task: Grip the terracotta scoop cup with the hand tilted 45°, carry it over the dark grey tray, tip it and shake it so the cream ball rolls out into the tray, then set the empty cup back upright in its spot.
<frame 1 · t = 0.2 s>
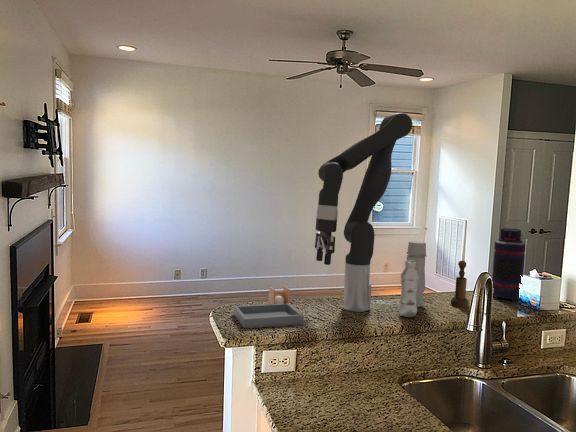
hand: (323, 262, 168), 18 cm above the table, tool pointing down, fingers open, 8 cm apart
ball: (278, 301, 171), point 2 cm above the table, touching scoop cup
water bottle: (414, 305, 182), on the table
striped lidded canister: (506, 298, 200), on the table
scoop cup: (278, 308, 171), on the table, touching ball
tray: (267, 319, 156), on the table
wooden pepper mill: (459, 306, 184), on the table
plastic bottle: (407, 317, 166), on the table
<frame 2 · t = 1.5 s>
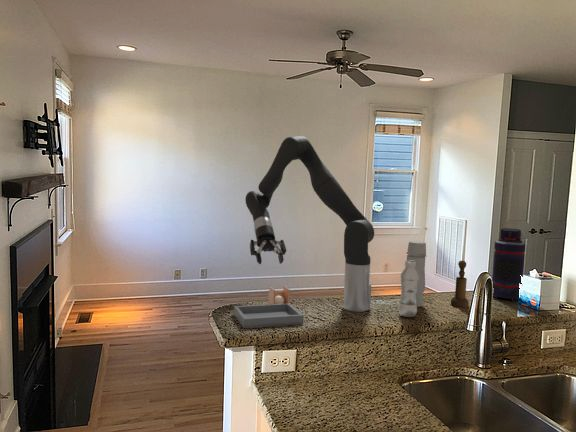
hand: (271, 262, 181), 15 cm above the table, tool tilted 45°, fingers open, 8 cm apart
nothing on the table moved.
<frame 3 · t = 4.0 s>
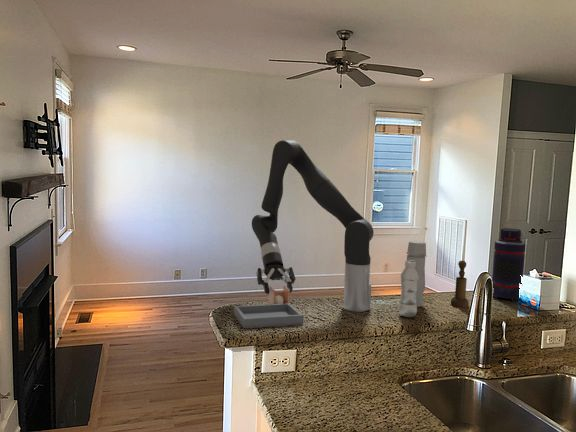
hand: (279, 292, 171), 6 cm above the table, tool tilted 45°, fingers open, 8 cm apart
ball: (278, 300, 171), point 2 cm above the table, tilted 13°, touching scoop cup
everything else where it was.
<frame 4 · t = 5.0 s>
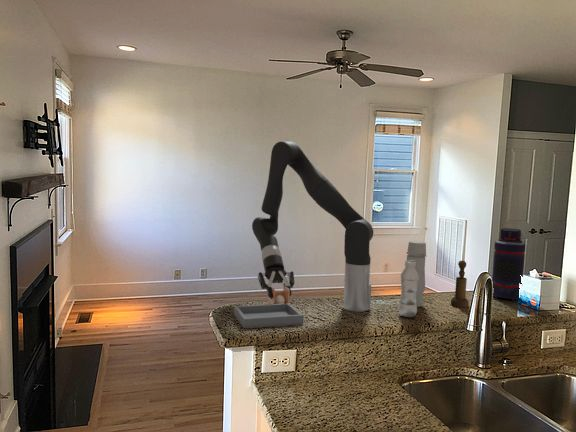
hand: (280, 297, 169), 4 cm above the table, tool tilted 45°, fingers closed on scoop cup, 6 cm apart
scoop cup: (278, 307, 171), on the table, touching ball, gripper
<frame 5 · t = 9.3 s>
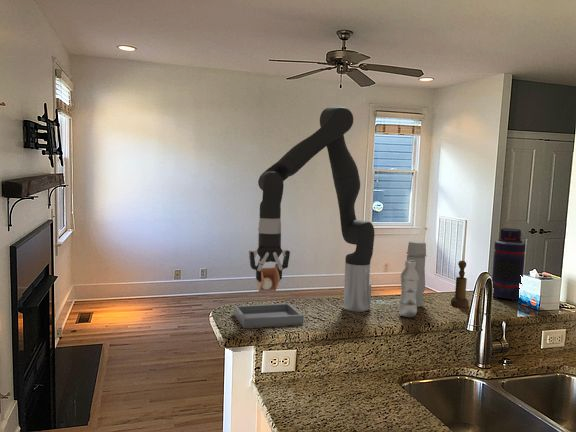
hand: (269, 281, 156), 13 cm above the table, tool pointing down, fingers closed on scoop cup, 6 cm apart
ball: (266, 283, 157), point 12 cm above the table, tilted 86°, touching scoop cup
scoop cup: (265, 284, 160), point 11 cm above the table, tilted 45°, touching ball, gripper
everything else where it was.
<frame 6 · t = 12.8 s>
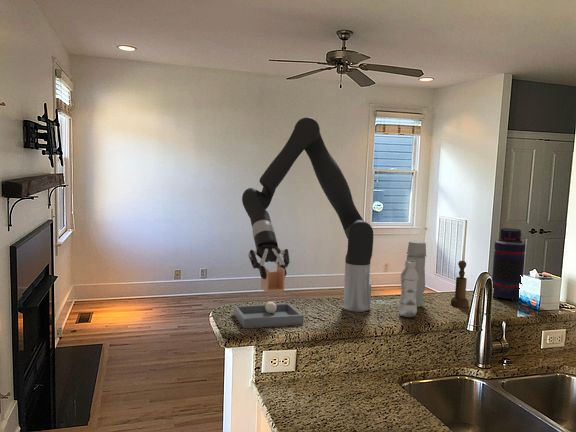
hand: (274, 277, 152), 15 cm above the table, tool tilted 45°, fingers closed on scoop cup, 6 cm apart
ball: (270, 307, 161), point 3 cm above the table, tilted 39°, touching tray
scoop cup: (272, 290, 154), point 11 cm above the table, touching gripper
everything else where it was.
when the fingers open (5 cm above the table, at t = 16.9 s): scoop cup stays where it is, on the table.
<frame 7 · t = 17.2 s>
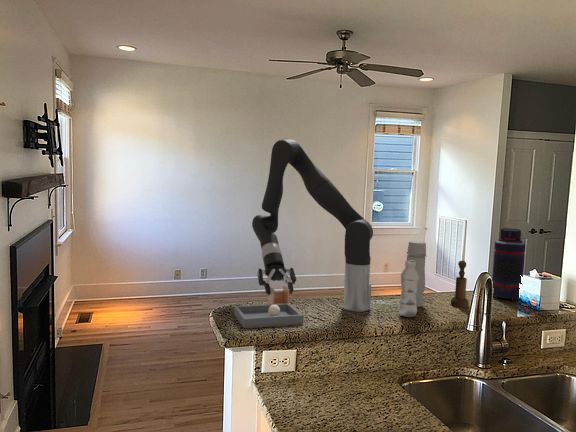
hand: (280, 293, 169), 6 cm above the table, tool tilted 45°, fingers open, 8 cm apart
ball: (274, 310, 157), point 3 cm above the table, tilted 128°, touching tray
scoop cup: (278, 307, 171), on the table
everything else where it was.
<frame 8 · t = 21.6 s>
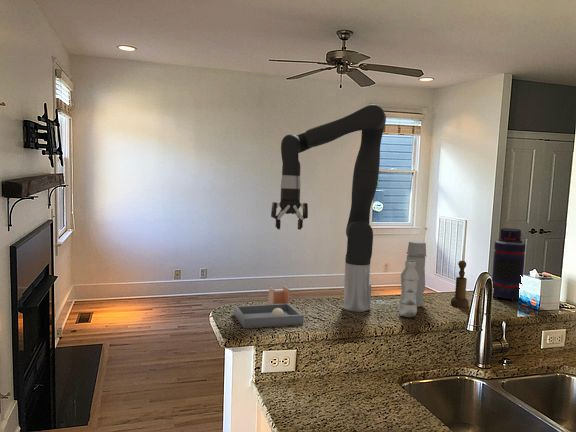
hand: (289, 229, 179), 28 cm above the table, tool pointing down, fingers open, 8 cm apart
ball: (277, 314, 153), point 3 cm above the table, tilted 105°, touching tray
everything else where it was.
at the end: ball inside the target area on the tray (4.5 cm from its centre), point 2.8 cm above the tray's base; scoop cup tilted 0°; scoop cup inside the target area (0.1 cm from its centre), on the table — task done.
